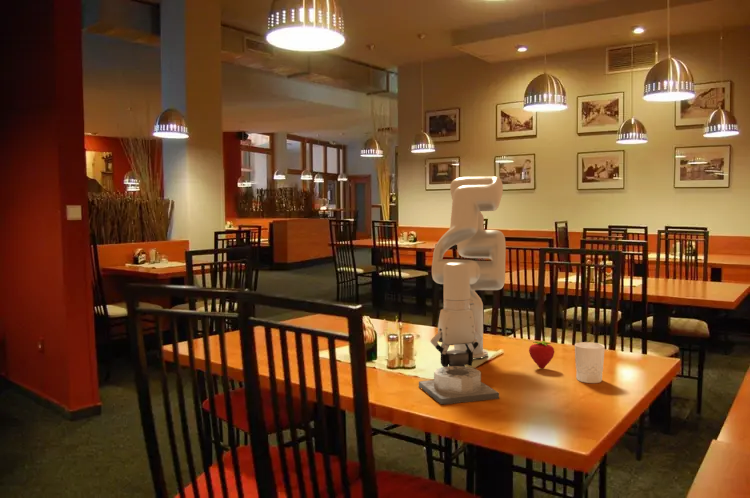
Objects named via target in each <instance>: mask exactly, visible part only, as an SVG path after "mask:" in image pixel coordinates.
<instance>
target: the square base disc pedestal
mask: <svg viewBox="0 0 750 498" xmlns="http://www.w3.org/2000/svg"><path fill="white" fill-rule="evenodd" d="M418 388H420V389H421V388H422V389H423V390H424V393H426V392H427V393H428V394H429V395H428V394H427V393H426V394H427V395H428V396H429V397H430V398H432V397H433V398H434V399H433V398H432V399H433V400H434V401H436V402H437V403H438V402H439V403H438V404H440V405H441V404H444V405H453V403H454V404H462V403H461V402H463V403H469V402H471V403H472V402H477V401H478V402H479V401H488V400H498V399H500V392H499V391H497V390H495V389H493V388H492V387H490V386H489V385H487V384H486V383H484V382H482V372H481V371H480V370H478V369H477V368H475V367H474V368H473V367H470V366H469V367H468V366H465V367H463V366H449V365H448V367H443V366H442V367H439V368H436V369H435V370H434V371H433V379H431V380H430V379H429V380H421V381H420V380H419V381H418ZM422 389H421V390H422ZM423 390H422V391H423Z"/></svg>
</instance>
